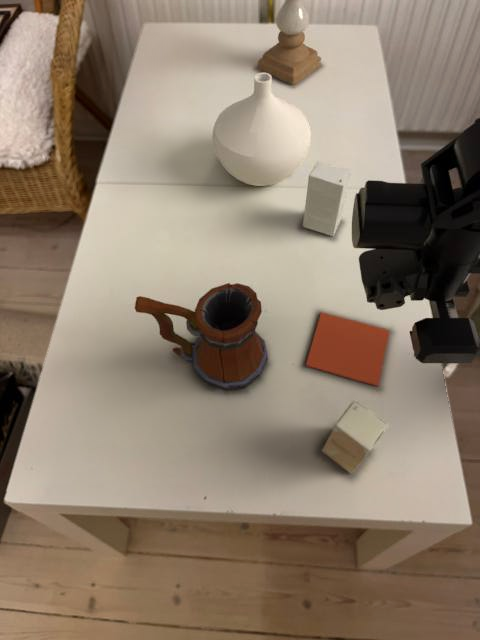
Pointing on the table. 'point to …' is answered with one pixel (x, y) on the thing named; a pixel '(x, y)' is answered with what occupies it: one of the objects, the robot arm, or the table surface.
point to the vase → (261, 136)
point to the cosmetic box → (325, 197)
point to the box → (354, 436)
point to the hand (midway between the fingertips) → (411, 324)
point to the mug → (217, 334)
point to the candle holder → (290, 46)
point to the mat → (348, 349)
